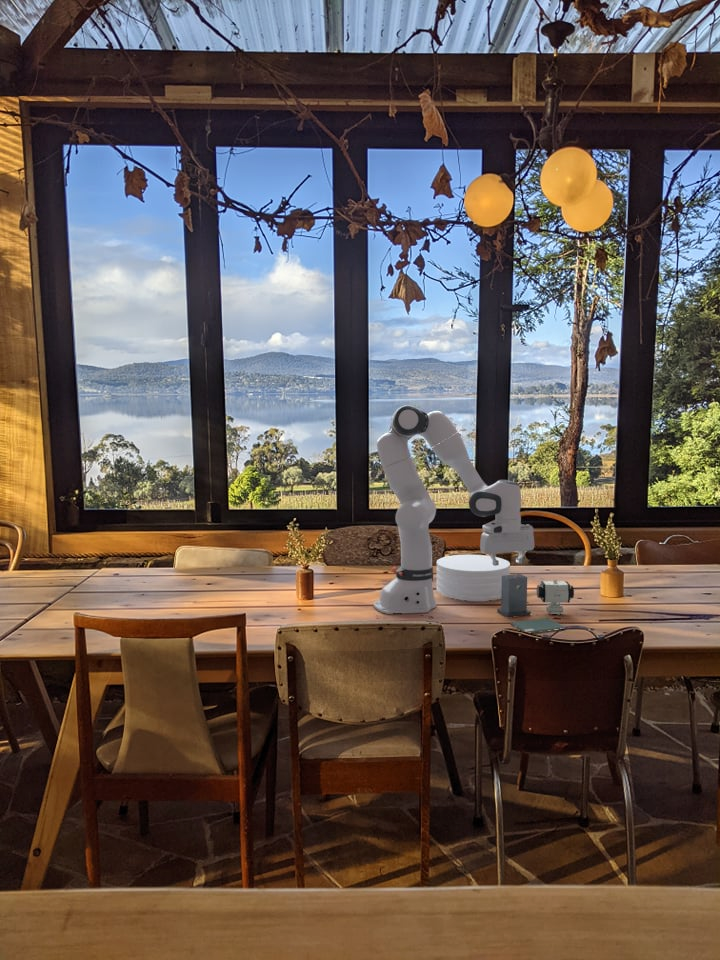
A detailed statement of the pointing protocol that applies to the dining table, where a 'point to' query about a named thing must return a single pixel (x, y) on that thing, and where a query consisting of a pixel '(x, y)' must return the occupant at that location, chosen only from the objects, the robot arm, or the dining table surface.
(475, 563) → the plate stack
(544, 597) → the pneumatic valve
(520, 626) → the mat
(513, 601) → the block
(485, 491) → the robot arm
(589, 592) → the dining table surface
